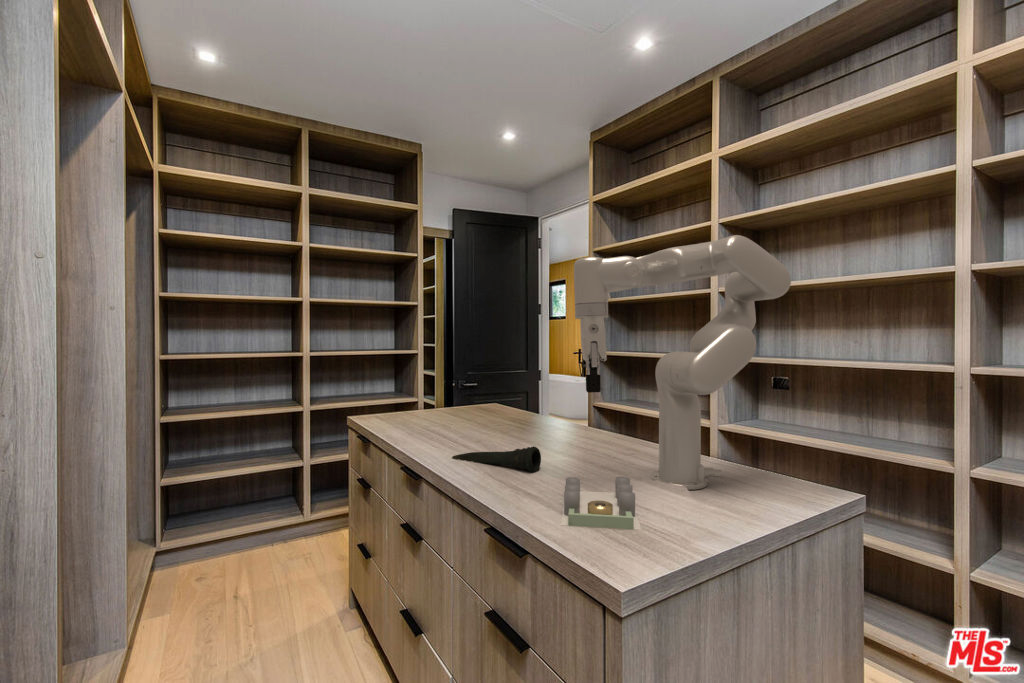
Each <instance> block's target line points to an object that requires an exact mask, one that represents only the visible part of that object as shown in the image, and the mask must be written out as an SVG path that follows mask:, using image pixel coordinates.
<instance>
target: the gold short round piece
mask: <svg viewBox="0 0 1024 683" xmlns="http://www.w3.org/2000/svg"><path fill="white" fill-rule="evenodd" d="M588 514H600V515H613V505H612V504H611V503H609V502H606V501H591V502H589V503H588Z"/></svg>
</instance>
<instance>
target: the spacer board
mask: <svg viewBox="0 0 1024 683" xmlns="http://www.w3.org/2000/svg"><path fill="white" fill-rule="evenodd" d="M614 480H615V484H614V485H615V488H614V490H615V492H607V491H606V492H605V491H589V490H587V491H586V490H581V479H580V478H579V477H576V476H569V477H566V478H565V485H564V491H563V506H562V514H561V515H562V516H561V522H560V525H561V526H565V527H581V528H599V529H612V530H613V529H616V530H632V531H635V530H636V531H642V527H641V524H640V522H639V518H638V516H637V512H636V493H635V492H633V485H632V484H631V478H629V477H627V476H616V477H615V478H614ZM591 501H606V502H609V503H611V504H612V505H613V515H600V514H588V503H589V502H591Z"/></svg>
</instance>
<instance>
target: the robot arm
mask: <svg viewBox="0 0 1024 683" xmlns="http://www.w3.org/2000/svg"><path fill="white" fill-rule="evenodd" d="M727 274H730V275H729V276H728V277H727V279H726V281H725V284H724V298H725V299H724V300H725V302H724V306H723V308H722V310H721V311H720V312H719V313H718V314H717V315H716V316H714V317H713V318H712V319H711V320H709V322H707V323H706V324H704V326H703V327H701V329H699V330H698V331H697V332H696V333H695V334H693V336H692V338H691V340H690V343H689V351H679V350H678V351H671V352H667V353H665V354H664V355H662V356H661V357H660V358H659V359H658V361H657V363H656V366H655V382H656V387H657V395H658V412H659V414H658V419H659V420H658V471H657V472H654V473H653V474H652V478H651V479H652V481H658V482H661V483H664V484H668V485H669V484H670V485H675V486H685V488H686V490H688V491H690V490H691V491H692V490H700V489H704V488H706V487H707V486H708V478H715V479H716V478H720V479H721V478H723V471H722V468H721V469H718V468H714V467H705V466H704V465H703V464H702V463H701V459H702V458H701V457H702V456H701V454H702V453H701V450H702V449H701V441H702V440H701V437H702V435H701V434H702V433H701V432H702V431H701V429H702V427H701V426H702V425H701V423H702V422H701V420H702V416H701V415H702V410H701V403H700V402H701V401H700V400H699V395H700V396H706V395H711V394H713V393H716V392H717V391H719V390H720V389H721V388H722V387H723V386H725V385H726V384H727V383H728V382H729V381H730V380H731V379H732V378H734V377H735V376H736V375H737V374H738V373H739V372H740V371H741V370H743V369H744V368H745V367H746V365H748V364H749V363H750V362H751V360H752V358H753V357H754V355H755V352H756V348H757V339H756V336H755V334H754V333H753V331H752V330H754V328H755V325H756V323H757V318H756V315H757V314H756V307H755V306H756V304H755V302H756V301H759V302H760V301H766V300H775V299H778V298H780V297H782V296H784V295H786V293H788V291H789V290H790V287H791V284H792V282H791V281H792V279H791V275H790V272H789V270H788V269H787V267H786V266H785V265H784V264H783V263H782V262H781V261H779V260H778V259H777V258H776V257H774V255H772V254H770V253H769V252H768V251H766V249H764V248H763V247H762V246H760V245H759V244H758V243H756V242H755V241H753V240H751V239H750V238H748V237H746V236H743V235H739V234H735V235H730V236H729V235H728V236H725V237H724V238H721V239H717V240H712V241H706V242H699V243H695V244H687V245H682V246H681V245H680V246H674V247H673V246H672V247H668V248H665V249H662V250H661V249H660V250H658V251H655V252H652V253H649V254H646V255H643V256H642V255H641V256H638V257H635V256H630V255H622V256H615V257H614V256H613V257H606V258H605V257H597V256H588V257H580V258H579V259H576V260H575V261H574V264H573V283H574V286H573V287H574V319H575V320H579V321H580V322H579V324H580V325H579V326H580V344H581V346H580V347H581V355H582V360H583V361H585V368H586V369H585V370H586V371H585V372H586V374H585V391H586V393H600V392H601V390H602V389H601V374H600V368H601V367H600V366H601V365H600V363H601V362H606V361H607V360H608V357H607V341H606V323H605V319H608V318H609V301H608V300H609V295H608V293H615V292H620V291H621V292H622V291H627V290H632V289H638V288H639V289H640V288H645V287H652V286H653V287H654V286H663V285H664V286H665V285H671V284H677V283H683V282H689V281H694V280H700V279H705V278H706V279H707V278H711V277H717V276H721V275H727ZM600 361H601V362H600Z"/></svg>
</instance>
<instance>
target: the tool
mask: <svg viewBox="0 0 1024 683" xmlns="http://www.w3.org/2000/svg"><path fill="white" fill-rule="evenodd" d="M451 457H452V459H453V460H454V459H455V460H458V459H460V461H464V460H466V461H465V462H471V461H473V462H472V463H478V462H480V464H487V463H488V464H489V465H499V466H507V467H508V466H509V467H514V468H517V469H522V470H525V471H528V472H530V473H536V472H538V471H539V470H540V468H541V462H542V454H541V450H540V449H539V448H538V447H537V446H534V445H532V446H531V447H530V446H527V447H524V448H516V449H514V450H508V451H507V450H506V451H505V450H504V451H471V452H466V453H460V454H455V455H453V456H451ZM488 464H487V465H488Z"/></svg>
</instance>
